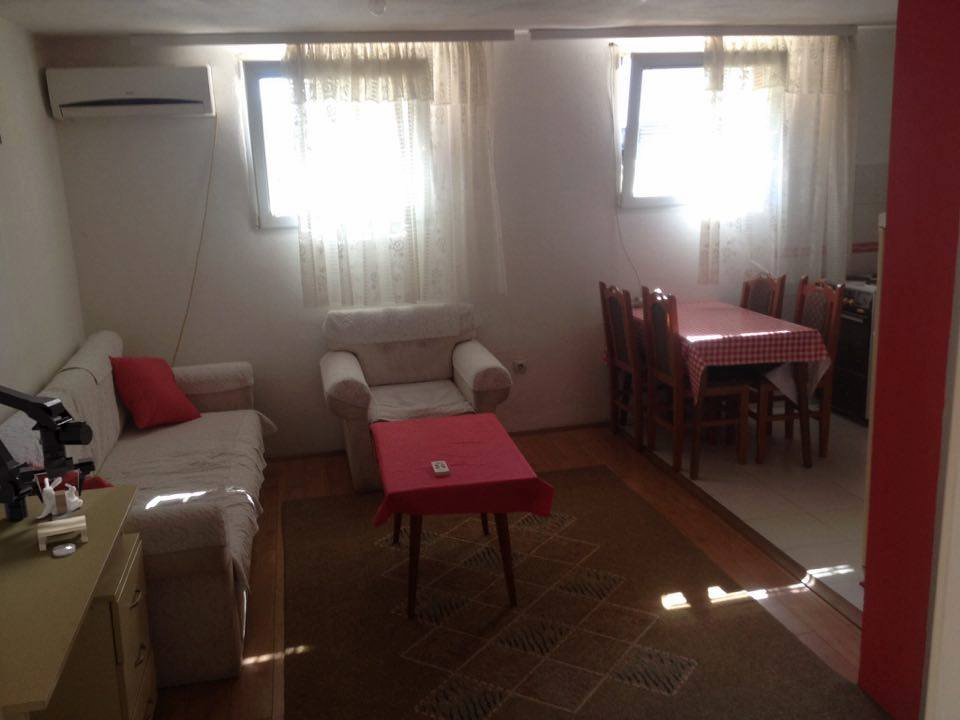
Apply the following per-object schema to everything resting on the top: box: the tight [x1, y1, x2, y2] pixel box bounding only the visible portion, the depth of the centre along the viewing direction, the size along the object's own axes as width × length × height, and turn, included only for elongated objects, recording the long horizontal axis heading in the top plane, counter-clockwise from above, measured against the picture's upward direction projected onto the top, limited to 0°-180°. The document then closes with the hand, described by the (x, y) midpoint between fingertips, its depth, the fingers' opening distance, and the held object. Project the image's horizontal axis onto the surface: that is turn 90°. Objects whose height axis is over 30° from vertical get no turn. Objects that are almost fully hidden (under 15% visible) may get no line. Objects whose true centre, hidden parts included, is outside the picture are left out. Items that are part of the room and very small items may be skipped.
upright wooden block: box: [51, 489, 75, 536], centre depth 227 cm, size 16×5×7 cm, turn 27°
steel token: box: [52, 543, 76, 557], centre depth 208 cm, size 5×5×2 cm
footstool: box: [37, 514, 89, 552], centre depth 215 cm, size 8×11×4 cm
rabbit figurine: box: [36, 477, 84, 520], centre depth 237 cm, size 12×8×10 cm, turn 119°
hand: (61, 499), depth 231 cm, fingers open, 9 cm apart
